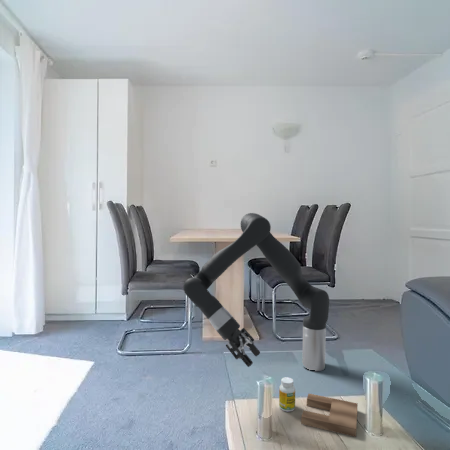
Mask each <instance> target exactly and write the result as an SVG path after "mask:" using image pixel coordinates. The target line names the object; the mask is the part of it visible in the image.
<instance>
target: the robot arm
mask: <svg viewBox="0 0 450 450" xmlns="http://www.w3.org/2000/svg"><path fill="white" fill-rule="evenodd" d="M271 228H272V227H271V222H270V221H269V220H268V219H267V218H265V217H263V216H262V215H260V214H258V213H255V212H249V213H246V214H244V215H243V216H242V217H241V221H240V229H241V231H242V233H241V235H240V236H238V237H237V238H236V239H235V240H234V241H232V242H231V243H230V244H228V245H227V246H225V247H223V248H222V249H220V250H219V251H216V252H215V253H214V254H213V256H211V257H210V258H209V259H208V260H207V261H206V262H205V263H204V264H203V266H202V267H201V269H200V270H199V271H198V273H197V274H196V275H194V276H193V277H189V278H187V279H186V280H185V281H184V283H183V287H182V288H183V292H184V294H185V295H186V296H187V298H189V300H190V301H191V302H192V303H194V305H195V306H196V307H198V309H199V310H200V311H201V313H202V314H203V316H204V317H206V319H207V320H208V322H209V323H210V325H211V326H212V327H213V329H214V330H215V331H216V332H217V334H218V335H219V336H220V337H221V338H222V339H223V340H224V341H227V340H228V342H227V343H226V344H225V347H226V348H227V349H228V351H229V352H230V353H231V354H232V356H233V358H234V359H235V360H238V359H241V361H242V362H243V363H244V364H245V365H246V366H247V367H248V368H250V367H251V366H252V365H253V363H254V362H253V361H252V359H251V358H250V357H249V356H248V354H247V353H246V351H245V347H247V348H248V349H249V350H250V351H251V353H252V355H253V356H255V357H258V356H260V354H261V351H260V350H259V349H258V348H257V346H256V345H255V342H254V341H255V339H254V337H253V336H252V335H251V334H250V333H249V332H248V331H247V329H245V327H242V328H241V325H240V324H239V322H238V320H236V319H235V317H234V316H233V315H232V314H231V313H230V311H229V310H228V309H226V308H225V307H224V305H222V303H221V302H220V301H219V300H218V298H217V297H216V296H214V295H213V294H211V292H210V291H209V288H210V287H211V286H212V284H213V283H214V282H215V281H216V280H218V279H219V277H220V276H222V275H223V274H224V273H225V272H226V270H228V269H229V268H230V266H232V265H233V264H234V263H235V262H236V261H237V260H238V259H240V258H241V257H243V256H244V255H245V254H246V253H247V252H249V251H250V250H251V249H253V248H254V247H255V246H257V247H258V249H259V250H260V252H261V253H262V254H263V256H264V257H265V259H266V260H267V261H268V263H269V264H270V265H271V267H272V269H274V271H275V272H276V273H277V274H278V276H279V277H280V278H281V279H282V280H283V281H284V283H286V285H287V286H288V287H289V288H290V289H291V290H292V292H293V293H294V295H295V296H296V298H297V299H298V301H299V303H301V305H302V306H303V307H304V308H307V309H309V311H310V312H309V316H305V317H304V318H303V320H302V357H301V361H302V362H301V363H303V365H304V366H305V367H306V368H307V369H309V370H308V371H310V370H315V371H314V372H321V371H324V369H325V367H326V341H327V339H326V338H327V337H326V336H327V335H326V333H327V332H326V331H327V322H328V320H329V313H330V297H329V294H328V292H327V291H326V290H324V289H321V288H318V287H315V286H314V285H312V284H311V283H309V282H308V281H307V279H306V278H305V277H304V275H303V271H302V267H301V264H300V262H299V261H298V260H297V258H296V257H295V255H294V254H293V253H292V252H291V250H289V249H288V248H287V247H286V246H285V245H284V244H282V242H280V241H279V239H277V238H276V237H275V236H274V235H273V233H272V232H271ZM239 328H241V329H239ZM307 369H306V370H307Z"/></svg>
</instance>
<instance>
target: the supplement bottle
mask: <svg viewBox="0 0 450 450" xmlns="http://www.w3.org/2000/svg"><path fill="white" fill-rule="evenodd" d="M280 383H281V384H280V385H279V387H278V389H279V390H278V391H279V393H278V406H279V408H280V410H282V411H284V412H288V413H289V412H293V411H294V410H295V409H296V387H295V385H294V379H293V378H291V377H288V376H286V377H282V378H281V382H280Z"/></svg>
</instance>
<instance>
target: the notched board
mask: <svg viewBox="0 0 450 450" xmlns="http://www.w3.org/2000/svg"><path fill="white" fill-rule="evenodd" d="M306 406H307V407H311V408H316V409H319V410H320V409H321V410H324V411H329V415H327V414H322V413H318V412H315V411H314V412H313V411H309V410H304V409H303V410H302V414H301V420H300V422H301V425H305V426H308V427H313V428H316V429H317V428H318V429H320V430H325V431H329V432H333V433H338V434H343V435H346V436H350V437H355V438H356V437H357V423H358V422H357V421H358V408H359V407H358V403H357V402H352V401H349V400H348V401H347V400H343V399H342V400H341V399H338V398H332V397H329V396H323V395H318V394H315V393H308V394H307V397H306Z"/></svg>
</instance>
